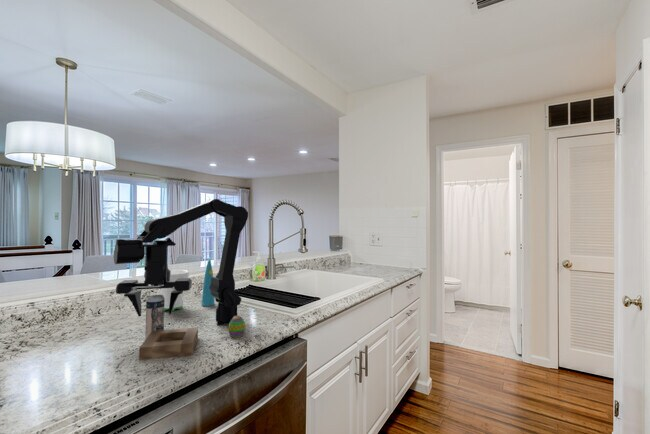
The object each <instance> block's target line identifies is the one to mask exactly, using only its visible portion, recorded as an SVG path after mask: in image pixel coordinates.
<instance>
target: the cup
mask: <svg viewBox="0 0 650 434" xmlns="http://www.w3.org/2000/svg"><path fill="white" fill-rule="evenodd" d="M169 270H170V271H171V273H170V281H169V282H175V281H176V280H177V279H178V278H190V276H189V274H190V272H189V270H185V269H172V270H171V269H169ZM162 286H164V285H162ZM172 291H173V288H160V292H161V295H163V296H164V298H165V302H164V312H166V311H169V305H170V296H171V292H172ZM183 297H184V292H183V293H182V294H179V295H178V297H177V299H176V302H175V305H174V307H173V310H172V312H173V311H175V310H181V309H182V308H183V306H184V299H183Z"/></svg>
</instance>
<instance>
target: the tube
mask: <svg viewBox="0 0 650 434" xmlns="http://www.w3.org/2000/svg"><path fill="white" fill-rule="evenodd" d="M204 273H205V274H204V280H203V285H202V286H203V287H202V294H201V295H202V296H201V297H202V298H201V306H203V307H210V306H211V305H212V306H214V305H215V298H214V297H213V296H212V295H211V293H210V289H209V287H210V284H211V277H214V271H213V265H212V261H211V256H209V257H208V260H207V263H206V268H205V271H204Z"/></svg>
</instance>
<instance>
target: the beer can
mask: <svg viewBox="0 0 650 434" xmlns="http://www.w3.org/2000/svg"><path fill="white" fill-rule="evenodd" d="M164 302H165V298H164V296H163V295H162V294H153V295H149V296H147V299H146V302H145V305H146V306H145V334H144V335H145V336H144V337H145V339H146V338H147V337H148V336H149V334H150V333H151V332H152V331H157V330H165V311H164Z"/></svg>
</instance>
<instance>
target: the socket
mask: <svg viewBox="0 0 650 434" xmlns="http://www.w3.org/2000/svg"><path fill="white" fill-rule="evenodd" d="M198 338H199V327H185V328H172V329H164V330H157V331H152V332H151V333H150V334H149V336H148V337H147V338H145V339H144V341H143V342H142V344H141V345H140V346H139V348H138V349H139V350H138V351H139V352H138V353H139V354H138V360H139V361H143V360H152V359H153V360H154V359H164V358H165V359H166V358H172V357H173V358H175V357H182V356H183V357H184V356H193V353H194V350H195V348H196V345H197V341H198Z"/></svg>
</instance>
